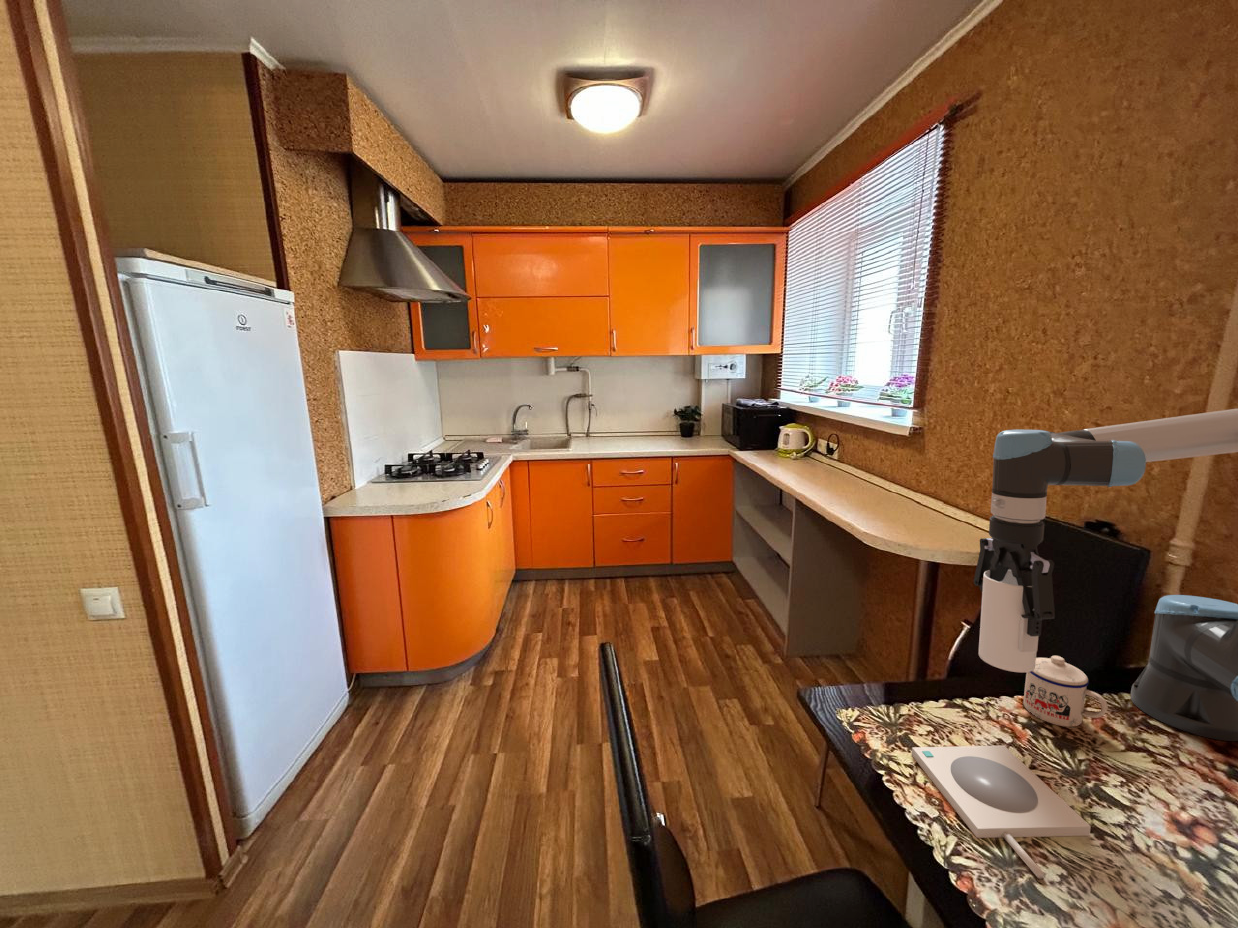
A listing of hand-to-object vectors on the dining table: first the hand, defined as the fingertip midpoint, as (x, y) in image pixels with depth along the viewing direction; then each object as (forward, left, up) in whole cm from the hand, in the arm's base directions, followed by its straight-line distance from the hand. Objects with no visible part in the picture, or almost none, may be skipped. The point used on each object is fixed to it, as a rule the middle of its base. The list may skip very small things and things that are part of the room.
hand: (1007, 637), depth 90 cm
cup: (0, 0, -5) cm, 5 cm away
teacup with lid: (-14, -2, -18) cm, 23 cm away
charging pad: (+12, +18, -18) cm, 28 cm away
